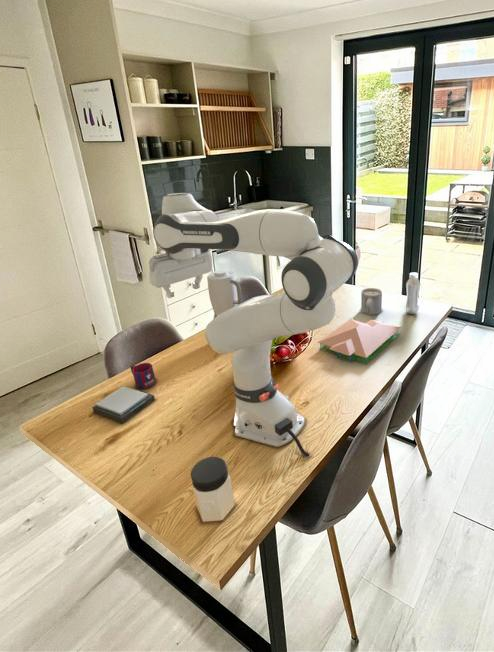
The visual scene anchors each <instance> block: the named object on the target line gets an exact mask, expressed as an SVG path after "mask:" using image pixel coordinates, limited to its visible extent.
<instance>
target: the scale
mask: <svg viewBox="0 0 494 652" xmlns="http://www.w3.org/2000/svg"><path fill="white" fill-rule="evenodd" d="M155 400H156V399H155V395H154V394H152V393H148V392H145V391H142V390H140V389H136V388H132V387H130V386H127V385H122V386H121V387H119V388H118V389H116V390H114V391H113V392H112V393H110V394H109V395H107V396H105V397H103V398H102V399H100V400H99V401H98V402H96V403H94V404H95V405H94V406H92V407H91V408H92V411H93V413H95V414H97V415H100V416H103V417H105V418H108V419H111V420H113V421H116V422H118V423H121V424H124V423H126V422H127V421H128V420H130V419H131V418H133V417H134V416H135V415H137V414H138V413H139V412H141V411H142V410H144V409H145V408H147V406H149V405H150V404H152V403H153V402H155Z"/></svg>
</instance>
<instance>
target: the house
mask: <svg viewBox="0 0 494 652" xmlns="http://www.w3.org/2000/svg"><path fill="white" fill-rule="evenodd" d="M401 328H402V327H401V326H397V325H393V324H390V323H386V322H382V321H378V320H374V319H370V320H368V321H367V322H362V321H359V320H354V319H351V318H350V319H349V320H347V321H346V322H344V323H343V324H341V325H340V326H339V327H336V329H334V330H333V331H331V332H330V333H329V334H327V335H326V336H324V337H323V338H322V339H319V341H317V344H319V345H320V350H323V351H326V352H330V353H331V354H335V355H337V356H339V358H340V359H341V360H345V361H347V362H352V361H356V362H359V363H362V364H365V365H366V364H367V363H368V362H369V361H370V360H371V359H373V358H374V357H375V356H377V354H378V353H380V351H382V350H383V348H385V346H387V345H388V344H389V343H390V342H391V341H393V339H395V338H396V337H397V336H398V334H399V330H400V329H401ZM327 349H329V350H327ZM352 356H354V358H352ZM346 358H349V359H346ZM355 358H357V359H355ZM361 360H363V361H361Z"/></svg>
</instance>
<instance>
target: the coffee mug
mask: <svg viewBox="0 0 494 652" xmlns="http://www.w3.org/2000/svg"><path fill="white" fill-rule="evenodd" d="M360 295H361V296H360V297H361V298H360V299H361V300H360V301H361V302H360V303H361V305H360V306H361V307H360V310H361V312H362V313H363V314H366V315H377V314H380V313H381V312H382V304H383V303H382V301H383V291H382V290H381V289H380V288H376V287H367V288H364V289H362V290H361V294H360Z"/></svg>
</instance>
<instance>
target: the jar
mask: <svg viewBox="0 0 494 652" xmlns="http://www.w3.org/2000/svg"><path fill="white" fill-rule="evenodd" d="M190 482H191V486H192V491H193V495H194V496H193V497H194V500H195V504H196V509H197V511H198V513H199V516H200V518H201V521H202V522H203V523H206V522H218V521H224V520H225V518H226V517H227V516H228V514H229V513H230V512H231V511H232V509H233V508H234V507H235V505H236V504H235V499H234V492H233V487H232V481H231V476H230V474H229V470H228V464H227V462H226V460H224V458H222V457H219V456H209V457H205V458H203V459H200V460H199V461H197V462H196V463H195V464H194V465H193V466H192V469H191V470H190Z"/></svg>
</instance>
